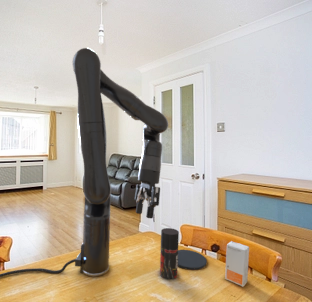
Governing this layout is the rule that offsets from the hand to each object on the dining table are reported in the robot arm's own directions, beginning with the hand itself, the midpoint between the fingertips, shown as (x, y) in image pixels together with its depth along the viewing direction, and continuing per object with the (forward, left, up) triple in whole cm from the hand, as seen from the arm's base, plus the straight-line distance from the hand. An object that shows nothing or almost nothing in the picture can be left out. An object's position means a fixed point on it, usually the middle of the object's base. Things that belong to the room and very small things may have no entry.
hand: (143, 215), depth 78 cm
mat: (+18, +11, -20) cm, 29 cm away
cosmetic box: (+32, -1, -20) cm, 37 cm away
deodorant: (+9, 0, -20) cm, 22 cm away
